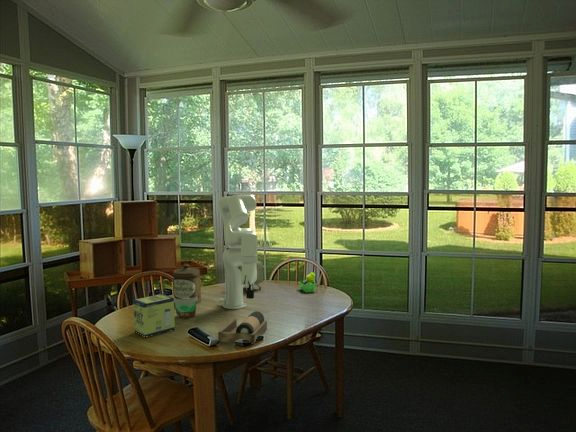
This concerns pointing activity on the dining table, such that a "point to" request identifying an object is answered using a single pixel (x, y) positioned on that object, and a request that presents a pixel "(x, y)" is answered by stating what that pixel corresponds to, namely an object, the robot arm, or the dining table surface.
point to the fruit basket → (308, 283)
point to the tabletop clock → (259, 273)
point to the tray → (231, 336)
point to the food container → (185, 307)
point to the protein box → (153, 315)
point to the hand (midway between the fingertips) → (250, 298)
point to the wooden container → (187, 283)
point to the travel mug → (251, 323)
